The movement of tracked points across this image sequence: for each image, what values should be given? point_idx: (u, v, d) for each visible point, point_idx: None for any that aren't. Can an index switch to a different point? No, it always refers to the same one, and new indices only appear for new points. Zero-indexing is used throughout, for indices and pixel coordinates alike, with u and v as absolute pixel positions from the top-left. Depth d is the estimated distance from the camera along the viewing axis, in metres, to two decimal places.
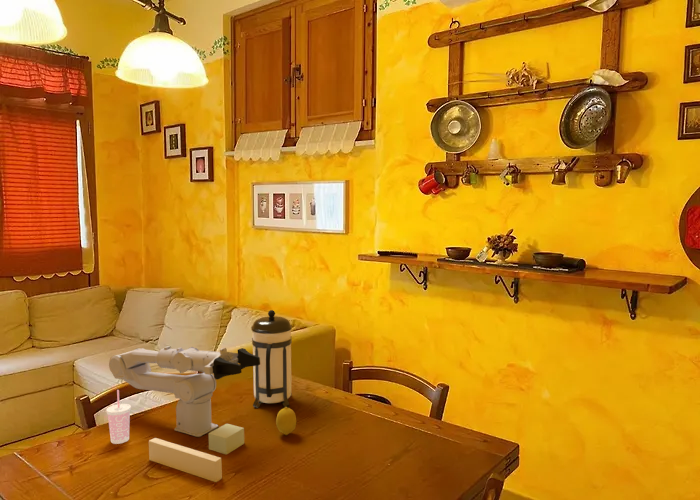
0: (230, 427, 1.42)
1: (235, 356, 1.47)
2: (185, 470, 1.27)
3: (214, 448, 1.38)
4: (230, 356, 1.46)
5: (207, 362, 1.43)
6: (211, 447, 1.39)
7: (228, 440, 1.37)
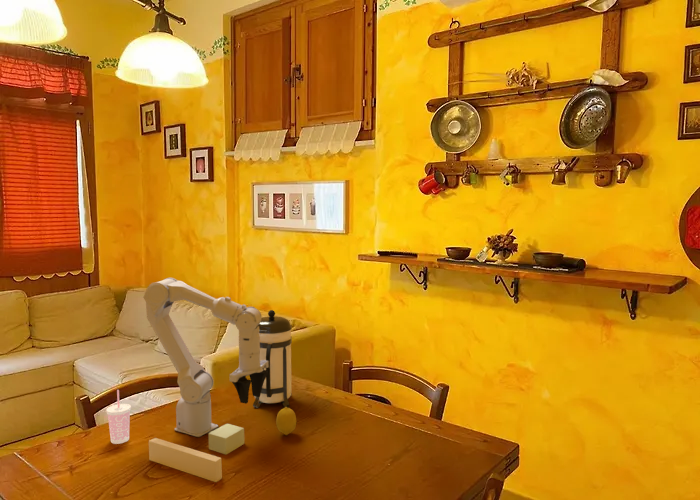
0: (231, 428, 1.42)
1: None
2: (185, 470, 1.27)
3: (213, 448, 1.38)
4: None
5: (244, 359, 1.45)
6: (211, 447, 1.39)
7: (228, 440, 1.37)
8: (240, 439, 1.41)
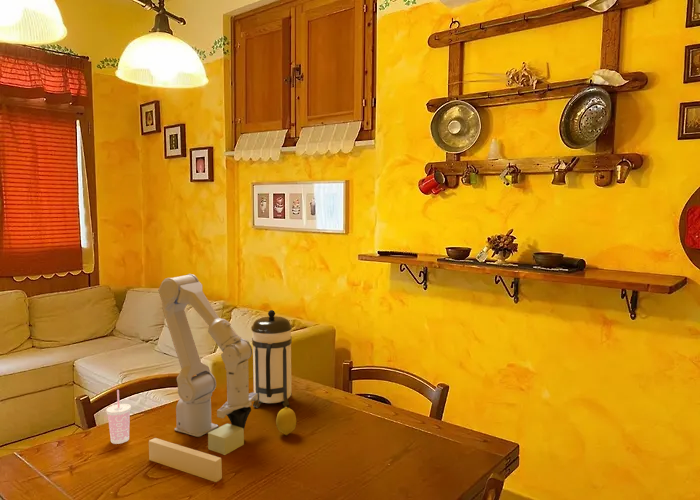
0: (230, 428, 1.42)
1: None
2: (185, 470, 1.27)
3: (213, 448, 1.38)
4: None
5: (233, 394, 1.41)
6: (210, 447, 1.39)
7: (227, 440, 1.36)
8: (240, 439, 1.41)
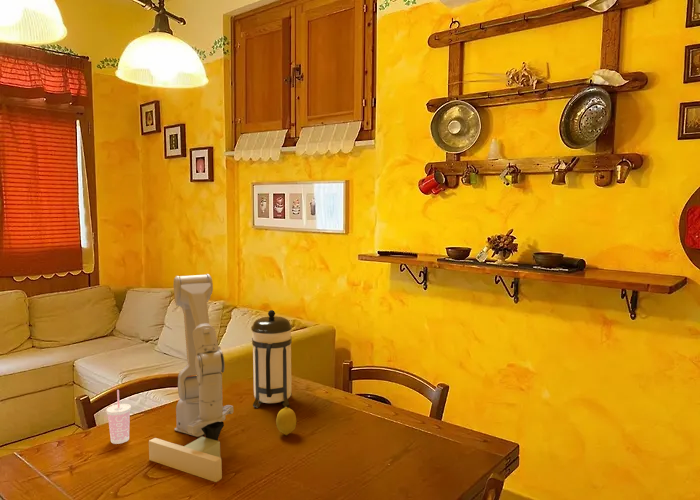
0: (205, 441, 1.34)
1: None
2: (185, 470, 1.27)
3: None
4: None
5: (205, 407, 1.32)
6: None
7: None
8: (216, 453, 1.33)
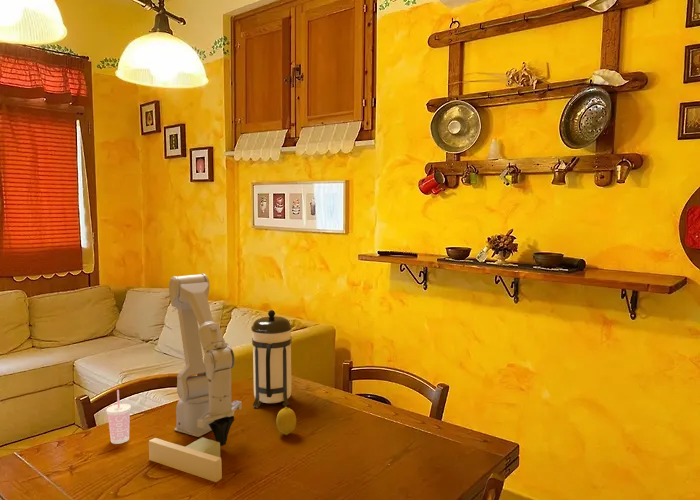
0: (206, 442, 1.34)
1: None
2: (185, 470, 1.27)
3: None
4: None
5: (214, 402, 1.35)
6: None
7: None
8: (216, 454, 1.33)
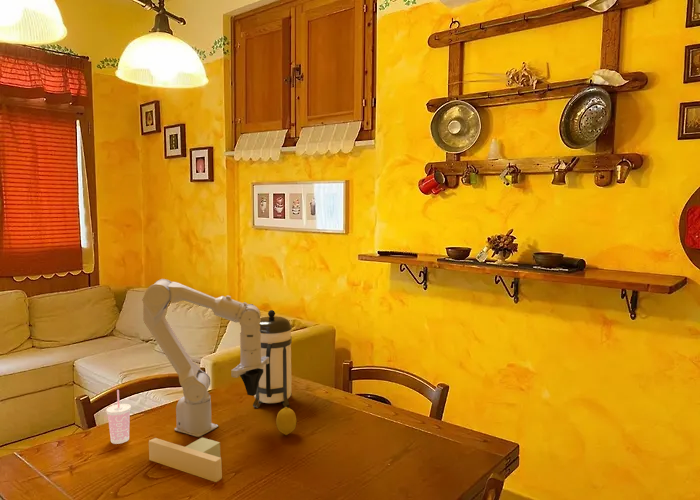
0: (206, 442, 1.34)
1: None
2: (185, 470, 1.27)
3: None
4: None
5: (246, 355, 1.48)
6: None
7: None
8: (216, 454, 1.33)
